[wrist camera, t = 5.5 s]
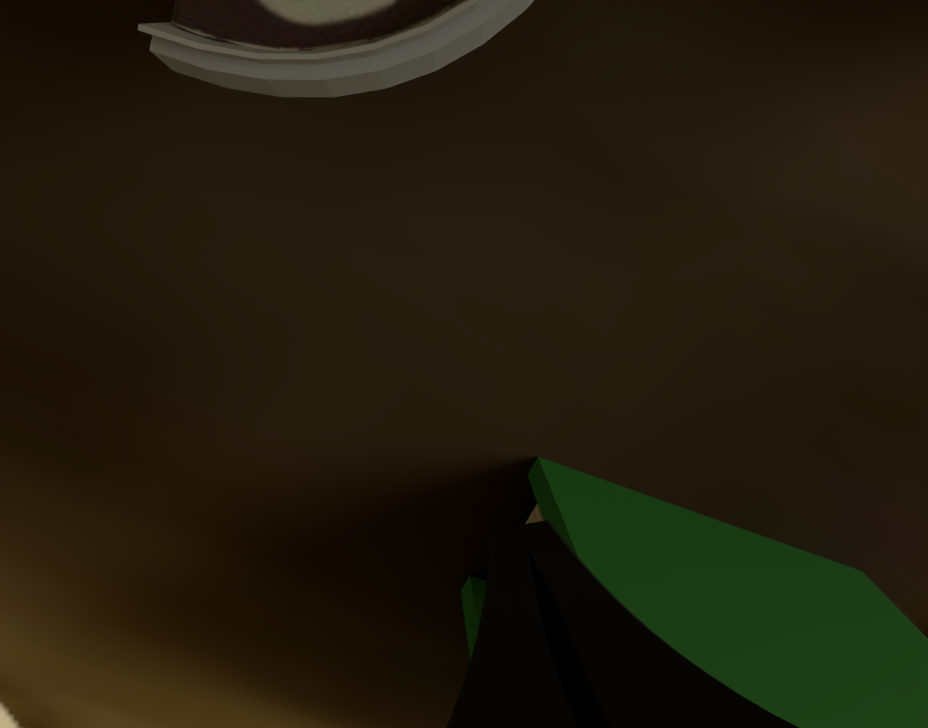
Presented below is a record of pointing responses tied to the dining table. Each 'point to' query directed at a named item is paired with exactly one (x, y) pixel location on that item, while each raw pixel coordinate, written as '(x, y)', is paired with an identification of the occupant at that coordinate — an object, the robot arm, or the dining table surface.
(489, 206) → the dining table surface
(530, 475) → the hardback book
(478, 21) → the food container
